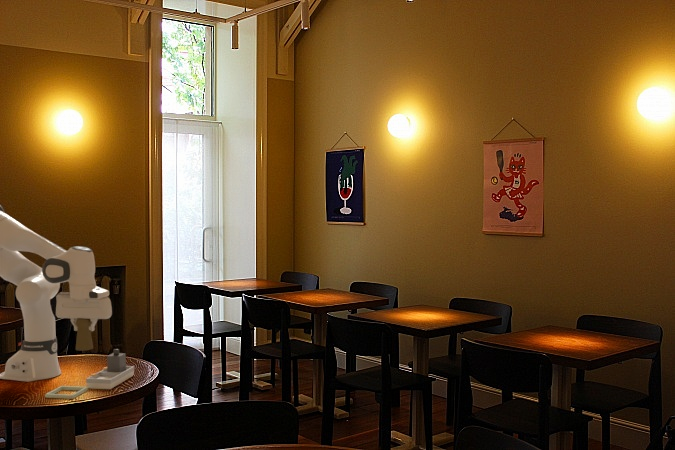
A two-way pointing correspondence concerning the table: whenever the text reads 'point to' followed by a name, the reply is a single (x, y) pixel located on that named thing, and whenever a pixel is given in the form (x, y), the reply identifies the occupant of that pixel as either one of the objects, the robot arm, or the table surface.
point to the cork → (83, 335)
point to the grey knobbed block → (116, 362)
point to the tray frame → (53, 395)
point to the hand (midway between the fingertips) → (84, 330)
